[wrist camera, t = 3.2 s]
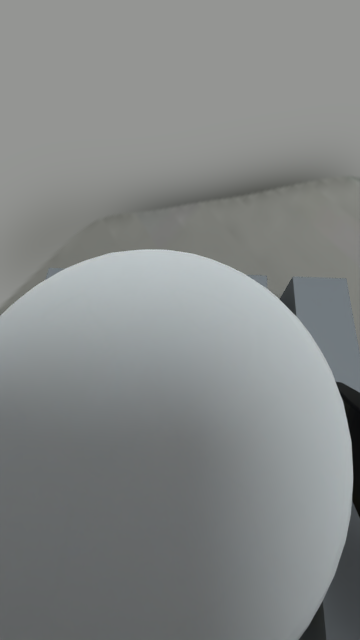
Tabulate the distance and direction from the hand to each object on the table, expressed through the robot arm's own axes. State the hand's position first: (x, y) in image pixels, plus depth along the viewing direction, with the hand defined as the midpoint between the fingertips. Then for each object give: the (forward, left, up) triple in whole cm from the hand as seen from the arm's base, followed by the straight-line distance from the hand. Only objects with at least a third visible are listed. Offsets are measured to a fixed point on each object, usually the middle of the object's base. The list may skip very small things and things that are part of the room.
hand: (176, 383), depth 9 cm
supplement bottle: (-1, -1, -7) cm, 7 cm away
